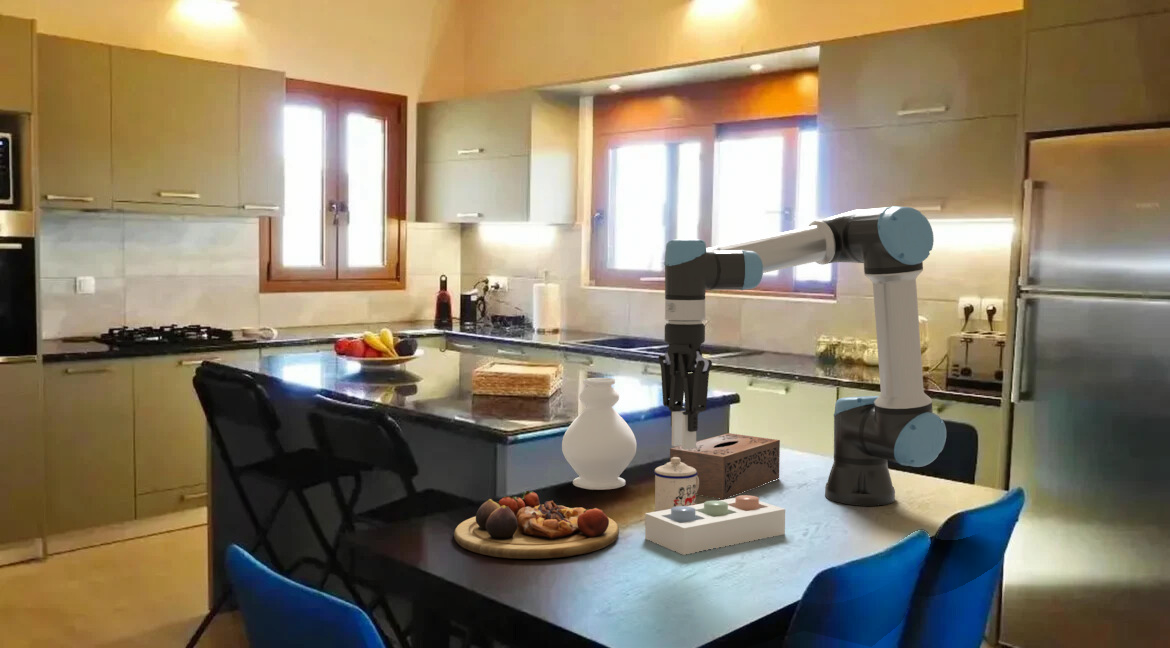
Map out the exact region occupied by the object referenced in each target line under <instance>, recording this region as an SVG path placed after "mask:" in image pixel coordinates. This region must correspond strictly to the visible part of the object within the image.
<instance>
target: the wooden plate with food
mask: <svg viewBox="0 0 1170 648" xmlns="http://www.w3.org/2000/svg"><path fill="white" fill-rule="evenodd" d="M520 496H521V497H519V496H513V495H509V496H508V495H507V496H506V495H504V496H503V497H501V499H499V500H498V501H494V500H493V499H492V498H489V499H488V500H486V501H485V502H483V503H482V504H481V505H480V506H479V508H478V509H477V511H476V512H475V513H476V514H475V516H472V517H470V518H467V519H465V520H463V521H462V522H460V523H459V524H458V525H457V526H456V528H455V529H454V532H453V537H454V540H455V542H456V543H457V544H458V545H459V546H460V547H461V548H463V549H464V550H468V551H471V552H472V553H476V554H480V555H485V556H490V557H494V558H502V559H503V558H504V559H517V560H518V559H519V560H520V559H522V560H527V559H528V560H529V559H530V560H531V559H532V560H533V559H536V560H538V559H557V558H566V557H573V556H578V555H584V554H589V553H592V552H595V551H599V550H602V549H604V548H606V547H608V546H610V545H612V544H613V543H614V542H615V541H616V540H617V539H618V537H619V535H620V528H619V525H618V523H617V522H616V521H614V519H612V518H610V517H609V516H607V515H606V513H604V511H603V509H599V508H597V507H595V508H594V507H592V508H590V509H589V508H587V509H586V508H584V507H567V506H564V505H558V504H556V503H555V502H554V500H552V499H551V500H545V502H544V504H541V503H540V498H539V495H538V494H537V493H536V492H534V491H533V490H531V491H530V490H526V491H524V492H522V493H521V494H520Z"/></svg>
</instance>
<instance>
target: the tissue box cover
mask: <svg viewBox="0 0 1170 648" xmlns="http://www.w3.org/2000/svg"><path fill="white" fill-rule="evenodd" d="M780 444H781V440H780V439H774V438H766V437H758V436H752V435H745V434H737V433H730V432H729V433H728V432H727V433H724V434H720V435H717V436H712V437H709V438H705V439H701V440H696V448H691V449H682V445H681V446H673V447H671V448H670V449H669V462H671V458H673V457H678V458H680V462H682V463H685V464H686V465H687V466H690V467H693V468H695V469H696V471H697V476H698V478H699V487H698V491H697V493H696V494H698V495H697V496H700V495H703V496H702V497H705V496H708V497H707V498H710V497H714V498H713V499H716V498H720V499H719V500H721V499H724V500H725V498H727V499H729V498H728V497H730V496H732V497H734V496H733V495H735V496H737V495H736V494H738V495H740V494H739V493H741V494H743V493H745V492H744V491H746V492H748V491H747V490H749V491H751V490H750V489H752V490H754V489H753V488H755V489H757V488H759V487H758V486H760V487H762V486H761V485H763V484H765V483H768V482H770V481H773V480H776V479H778V478H779V479H780V458H781V457H780V455H781V454H780V453H781V452H780V451H781V448H780V446H781V445H780ZM763 486H764V485H763ZM756 487H757V488H756ZM742 492H743V493H742ZM730 498H731V497H730Z"/></svg>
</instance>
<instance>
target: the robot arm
mask: <svg viewBox="0 0 1170 648" xmlns="http://www.w3.org/2000/svg"><path fill="white" fill-rule="evenodd" d="M934 239H935V238H934V231H933V228H932V225H931V224H930V221H929V220H928V218H927V217H926V215H924V214H922V212H921V211H920V210H918V209H916V208H914V207H910V206H900V205H891V206H885V207H873V208H858V209H853V210H850V211H847V212H846V211H845V212H842V213H840V214H837V215H833V216H829V217H827V218H826V217H825V218H822V219H818V220H814V221H811V223H809V225H808V226H807V227H802V228H797V229H793V230H788V231H784V232H779V233H773V234H769V235H764V236H759V237H755V238H749V239H744V240H739V241H734V242H730V243H724V244H720V245H715V246H712V247H707V244H706V242H705V240H704V239H670V240H668V242H667V243H666V244H665V253H664V263H663V264H664V301H665V302H664V319H665V320H666V321H667V323H665V324H664V342H665V343H666V344H668V347H667V348H668V349H667V352H666V353H665V354H659V355H658V362H659V365H660V372H661V373H660V374H661V389H662V390H661V391H662V404H663V406H664V407H667V408H668V410H669V412H670V426H671V427H670V428H671V447H678V446H682V449H691V448H696V442H697V431H698V428H699V427H698V426H699V425H698V424H699V421H698V419H699V418H698V417H699V413H704V412H706V410H707V404H708V403H707V401H708V391H709V390H708V389H709V376H710V371H711V368H712V365H713V362H712V360H711V359H705V358H704V357H703V352H702V349H701V345H702V344H704V343H705V341H706V325H705V323H702V322H703V321H705V320H706V291H711V290H712V291H713V290H715V291H718V290H719V291H721V290H722V291H731V290H732V291H737V290H738V291H744V290H753V289H755V288H757V287H758V286H759V285H760V283H761V282H762V280H763V275H764V273H769V272H775V271H778V270H784V269H789V268H792V267H797V266H800V265H807V264H811V263H817V264H818V265H822V266H823V265H827V264H832V263H834V264H835V263H852V264H853V263H854V264H863V273H864V276H866V278H868V279H869V280H870V281H871V282H872V289H873V290H872V292H873V302H874V303H873V305H874V317H875V329H876V331H875V332H876V333H875V334H876V345H877V356H878V357H877V361H878V371H879V385H880V386H879V387H880V394H879V395H863V396H846V397H840V398H838V399H837V400H836V402H835V404H834V414H833V464H832V466H831V469H830V472H829V475H828V479H827V482H826V483H825V487H824V488H825V490H824V492H825V493H824V496H825V498H826V499H828V500H830V501H833V502H837V503H840V504H846V505H851V506H863V507H864V506H865V507H867V506H869V507H873V506H874V507H875V506H884V505H889V504H892V503H894V502H895V499H896V498H895V497H896V490H895V487H894V486H893V483H892V478H891V474H890V471H889V470H890V469H889V466H888V461H889V462H893V463H897V464H899V465H900V466H906V467H908V466H910V467H913V468H916V467H917V468H920V467H925V466H927V465H930V464H931V463H933V462H934V461H935V460H936V459H937V458H938V456H939V454H940V453H942V451H943V450H944V448H945V444H946V439H947V427H946V424H945V422H944V420H943V419H941V417H940V416H939V415H938V414H936V413H935V412H933V410H934V409H933V401H932V398H931V397H930V396H929V395H928V394H926V393H925V391H924V378H923V377H924V376H923V361H922V347H921V335H920V318H919V305H918V303H919V302H918V290H917V278H918V277H919V275H921V273H922V272H923V271H924V266H923V265H924V261H925V260H927V259H928V258H929V256H930V254H931V253H930V251H932V250H933V248H934V247H933V246H934Z"/></svg>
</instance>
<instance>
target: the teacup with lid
mask: <svg viewBox="0 0 1170 648" xmlns="http://www.w3.org/2000/svg"><path fill="white" fill-rule="evenodd" d="M653 474H654V475H655V476H654V493H655V494H654V512H656V511H662V510H668V509H671V508H673V507H677V506H691V505H696V504H697V503H696V502H697V500H696V499H697V495H696V493H697V491H698V487H699V478H698V476H697V471H696V469H695V468H693V467H690V466H687V465H686V464H685V463H682V462H680V458H678V457H673V458H671V462H670V461H669V462H668V461H667V462H666V463H664V465H659V466H657V467H656V468H655V469H654V472H653Z"/></svg>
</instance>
